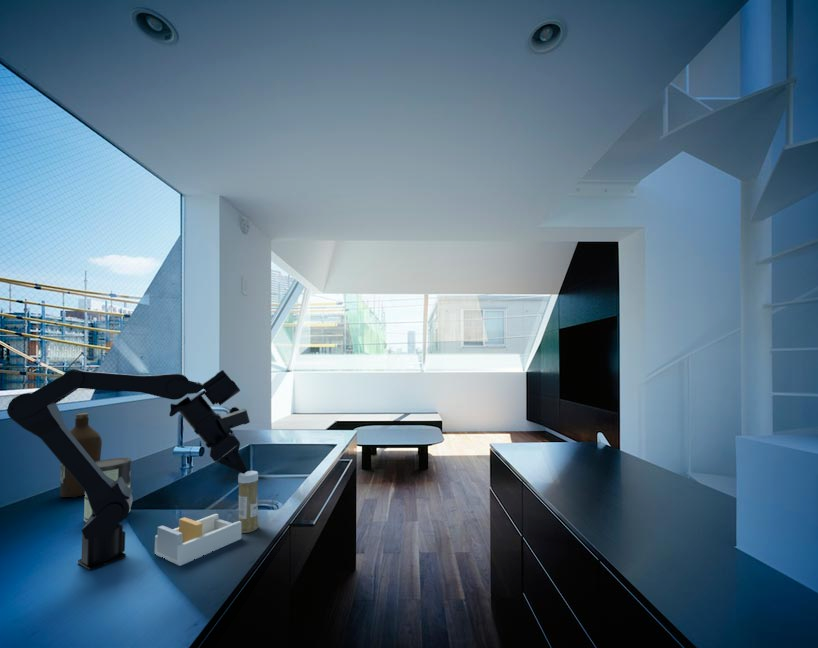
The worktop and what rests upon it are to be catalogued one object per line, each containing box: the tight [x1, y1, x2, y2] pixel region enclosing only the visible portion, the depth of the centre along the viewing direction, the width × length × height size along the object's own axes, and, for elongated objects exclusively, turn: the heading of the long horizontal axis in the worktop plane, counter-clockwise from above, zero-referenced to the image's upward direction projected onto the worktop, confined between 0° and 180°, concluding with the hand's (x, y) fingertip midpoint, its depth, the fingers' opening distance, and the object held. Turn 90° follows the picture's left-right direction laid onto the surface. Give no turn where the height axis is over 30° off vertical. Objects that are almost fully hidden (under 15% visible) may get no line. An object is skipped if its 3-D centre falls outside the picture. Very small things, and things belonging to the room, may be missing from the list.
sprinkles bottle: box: [237, 470, 259, 534], centre depth 100 cm, size 5×5×14 cm
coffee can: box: [83, 457, 132, 523], centre depth 112 cm, size 10×10×14 cm
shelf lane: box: [154, 513, 242, 566], centre depth 91 cm, size 14×10×6 cm
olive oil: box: [59, 412, 103, 498], centre depth 132 cm, size 11×11×25 cm
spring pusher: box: [178, 516, 202, 543], centre depth 90 cm, size 1×7×5 cm, turn 57°
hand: (243, 467), depth 100 cm, fingers open, 9 cm apart
